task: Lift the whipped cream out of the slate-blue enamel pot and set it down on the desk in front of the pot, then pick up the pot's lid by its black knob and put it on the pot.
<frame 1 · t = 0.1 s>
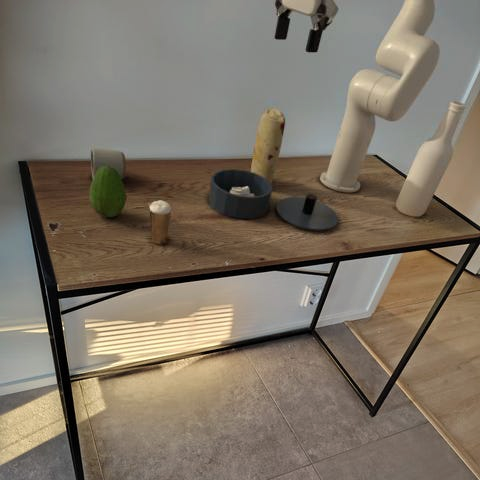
hand: (295, 45, 94), 37 cm above the table, tool pointing down, fingers open, 9 cm apart
pot: (238, 203, 116), on the table
alcohol: (408, 210, 131), on the table
pot lid: (306, 213, 117), point 1 cm above the table
whipped cream: (238, 202, 116), resting on pot
avocado: (109, 215, 102), on the table
food model: (260, 183, 128), on the table
milkshake: (157, 240, 98), on the table
ceramic mug: (106, 177, 116), on the table
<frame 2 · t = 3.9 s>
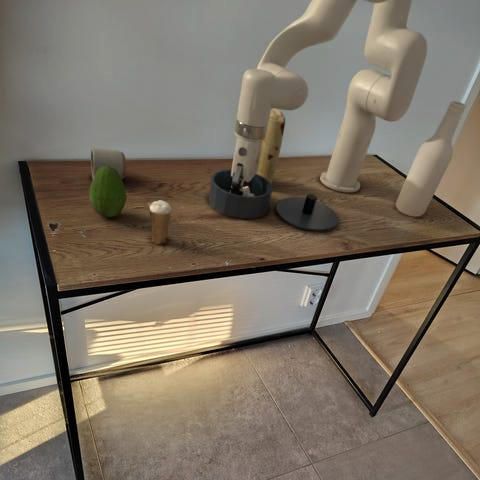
hand: (239, 197, 115), 2 cm above the table, tool pointing down, fingers closed on whipped cream, 7 cm apart
whipped cream: (238, 202, 116), resting on pot, touching gripper
everything else where it was.
when the fingers open (1 cm above the table, at t = 11.7 s): whipped cream stays where it is, on the table.
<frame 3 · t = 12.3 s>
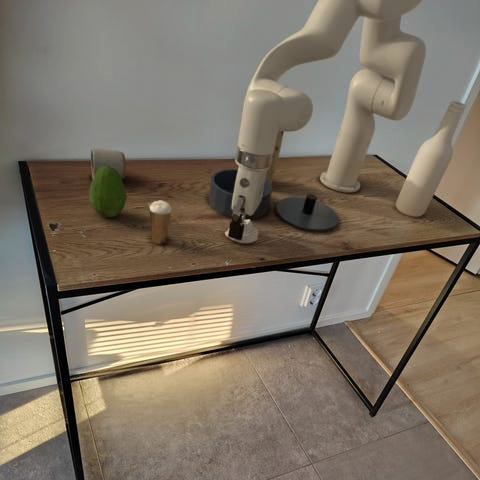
hand: (240, 228, 102), 2 cm above the table, tool pointing down, fingers open, 9 cm apart
whipped cream: (239, 237, 104), on the table
everything else where it was.
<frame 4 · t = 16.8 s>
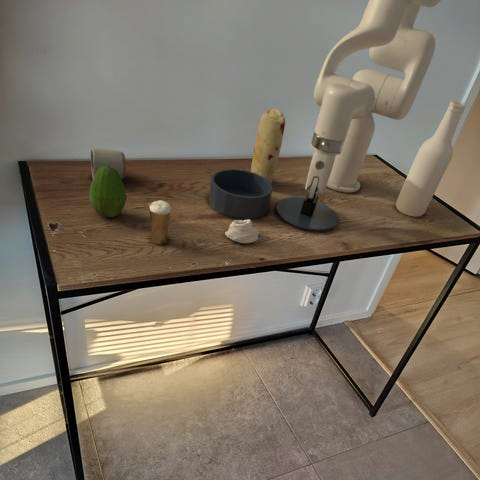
hand: (307, 211, 116), 1 cm above the table, tool pointing down, fingers closed on pot lid, 2 cm apart
pot lid: (306, 213, 117), point 1 cm above the table, touching gripper
everything else where it was.
when the fingers open (7 cm above the table, at t = 22.7 s): pot lid stays where it is, resting on pot.
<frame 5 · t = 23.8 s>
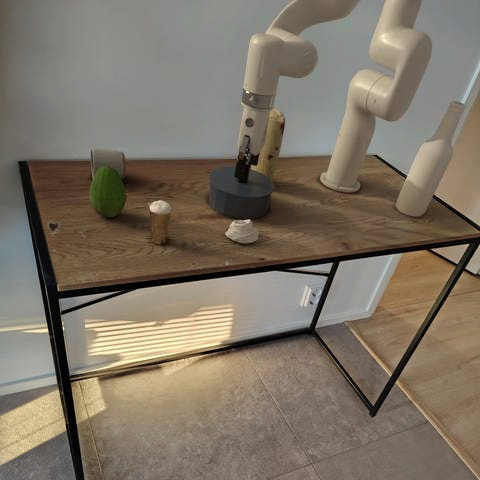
hand: (246, 171, 111), 9 cm above the table, tool pointing down, fingers open, 9 cm apart
pot lid: (241, 182, 112), point 6 cm above the table, touching pot
everything else where it was.
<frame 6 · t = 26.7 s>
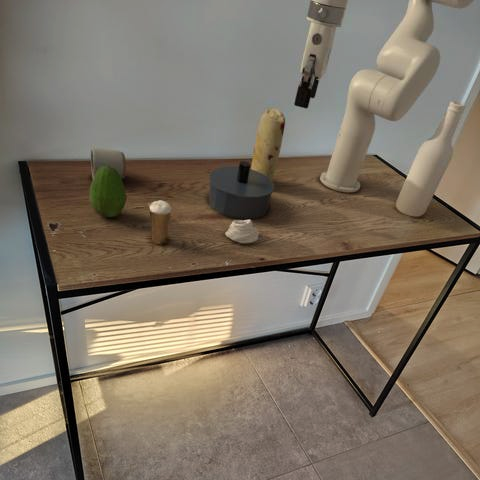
hand: (304, 101, 103), 26 cm above the table, tool pointing down, fingers open, 9 cm apart
nothing on the table moved.
at the end: whipped cream inside the target area (0.3 cm from its centre), on the table; pot lid 0.1 cm off-centre on the pot, point 5.9 cm above the pot's base; pot lid tilted 0° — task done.
